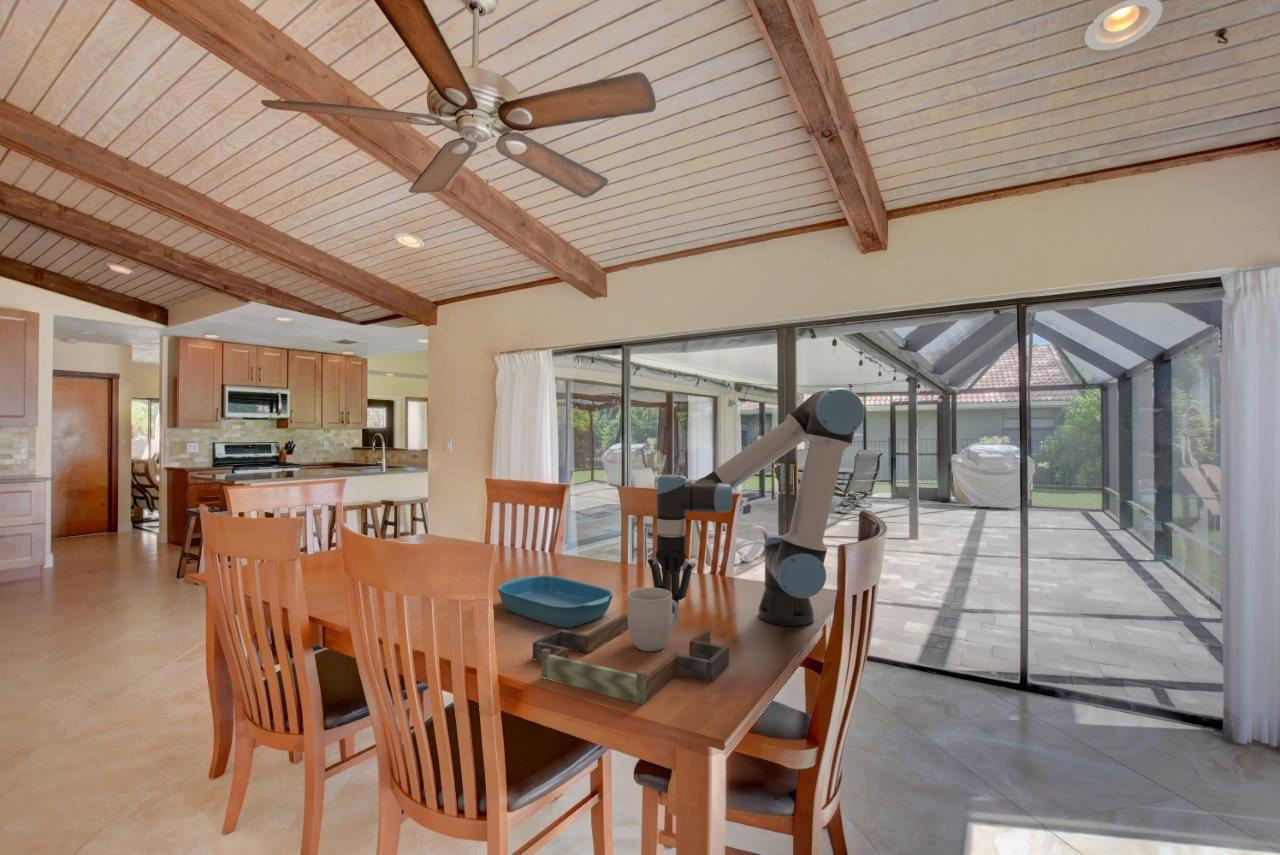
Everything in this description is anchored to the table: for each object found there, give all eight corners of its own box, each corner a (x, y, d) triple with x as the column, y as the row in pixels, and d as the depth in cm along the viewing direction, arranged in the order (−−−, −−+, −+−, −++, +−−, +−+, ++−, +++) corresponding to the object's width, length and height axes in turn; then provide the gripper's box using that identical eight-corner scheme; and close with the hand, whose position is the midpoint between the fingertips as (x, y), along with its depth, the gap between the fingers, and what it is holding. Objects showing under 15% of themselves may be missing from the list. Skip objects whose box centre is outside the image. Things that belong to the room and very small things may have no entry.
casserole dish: (628, 616, 166) (628, 591, 166) (572, 638, 149) (572, 610, 149) (540, 593, 189) (540, 571, 189) (483, 610, 171) (483, 585, 171)
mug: (663, 632, 152) (663, 582, 152) (693, 644, 144) (693, 591, 144) (618, 645, 143) (618, 592, 143) (646, 659, 134) (647, 602, 134)
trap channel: (741, 651, 139) (741, 626, 139) (680, 714, 109) (680, 682, 109) (599, 623, 159) (599, 601, 159) (512, 671, 128) (512, 643, 128)
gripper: (700, 534, 152) (699, 624, 152) (655, 529, 159) (655, 616, 159) (688, 539, 146) (687, 633, 146) (642, 534, 152) (641, 624, 152)
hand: (670, 624), depth 152 cm, fingers closed
